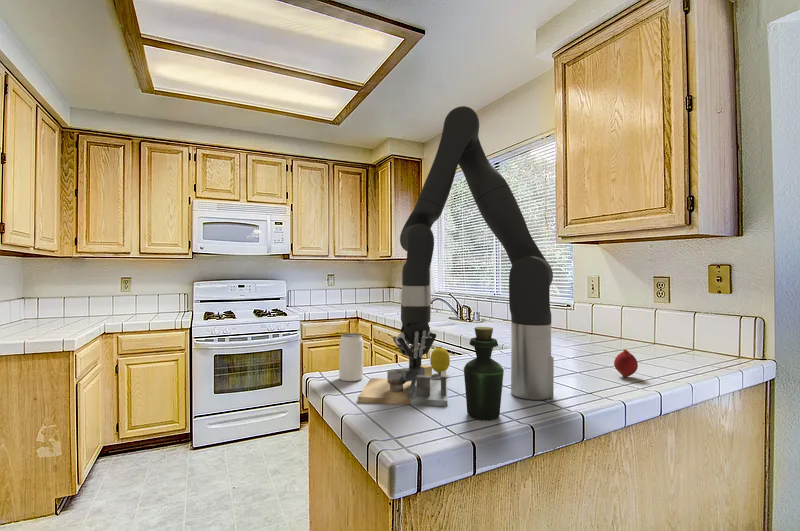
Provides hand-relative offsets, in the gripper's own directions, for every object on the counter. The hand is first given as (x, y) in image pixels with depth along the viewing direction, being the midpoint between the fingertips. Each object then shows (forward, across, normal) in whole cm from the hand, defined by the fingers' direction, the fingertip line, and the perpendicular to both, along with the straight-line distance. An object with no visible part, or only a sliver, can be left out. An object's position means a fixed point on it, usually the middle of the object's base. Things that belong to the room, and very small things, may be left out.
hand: (415, 372), depth 104 cm
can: (+4, +8, -17) cm, 19 cm away
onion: (+4, -54, +28) cm, 61 cm away
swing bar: (+1, +4, +2) cm, 4 cm away
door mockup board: (+4, +5, +2) cm, 7 cm away
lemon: (+4, -14, -6) cm, 16 cm away
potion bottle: (+4, +1, +23) cm, 24 cm away
